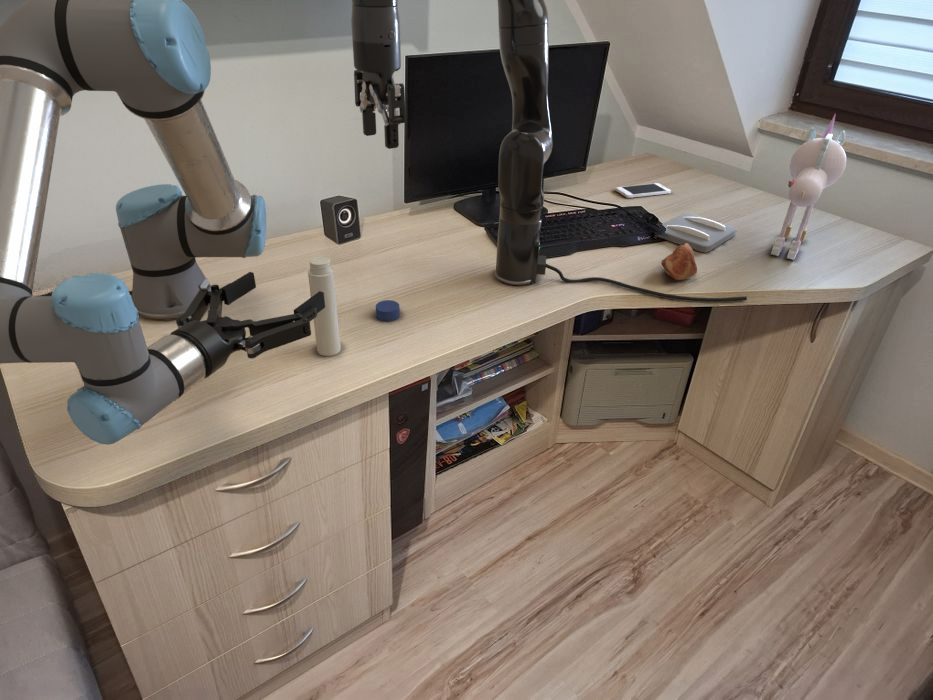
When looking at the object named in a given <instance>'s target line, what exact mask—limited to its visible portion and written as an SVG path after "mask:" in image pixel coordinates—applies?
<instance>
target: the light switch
mask: <svg viewBox="0 0 933 700" xmlns="http://www.w3.org/2000/svg"><path fill="white" fill-rule="evenodd" d="M661 224H662V225H663V226H664V227H665V228H666V231H665V234H667V235H668V237H665V236H662V235H658V236H657V235H654V236H655V237H657V238H659V239H663V240H665V241H669V242H671V243H674V244H677V245H679V246H680V245H684V244H685V243H688V244H689V245H690V246H691V248H692V250H694V251H697V252H699V253H709V252H711V251H712V250H714V249H716V248H717V247H719V246H720V245H722V244H724V243H725V242H727V241H730V239H732V238H734V237H736V234H737V228H736V227H734V226H732V225H729V224H725V223H722V222H719V221H716V220H713V219H710V218H707V217H703V216H700V215H697V214H694V213H690V212H683V213H682V214H679V215H677V216H675V217H673V218H671V219H669V220H668V221H666V222H663V223H661Z"/></svg>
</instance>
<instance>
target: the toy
mask: <svg viewBox="0 0 933 700" xmlns="http://www.w3.org/2000/svg"><path fill="white" fill-rule="evenodd" d="M836 116H837V115H836V112H835V113H834V115H833V116H832V119H831V120H830V122H829V124H828V126H827V128H826V130H825V131H824V133H823V134H822V136H821V137H817V138H816V136H817V128H815V127H810V129H809V130H808V133H807V135H806V136H805V142H804V143H802V144H801V145H800V146H798V148H797V149H796V150H795V151H794V152H793V154H792V156H791V159H790V162H789V173H790V175H791V178H792V180H789V181H788V188H789V189H788V198H789V201H790V202H789V205H788V209H787V212H786V215H785V218H784V221H783V223H782V227H781V230H780V233H779V235H777V236H776V239H775V241H774V243H773V246H772V249H771V253H770V255H772V256H776V257H779V255H780V253H781V252H782V249H783V248H784V246H785V242H786V240H789V238H790V234H791V232H792V227H793V225H792V223H793V219H794V217H795V213H796V211H797V208H798V207H801V208H802V207H804V208H805V210H804V213H803V216H802V219H801V222H800V225H799V227H798V230H797V233H796V237H795V239H793V240H792V242H791V245H790V247H789V250H788V253H787V256H786V259H788V260H792V261H794V260H795V259H796V257H797V255H798V253H799V251H800V249H801V245H802V244H803V243H804V240H805V238H806V235H807V231H808V228H807V227H808V224H809V221H810V218H811V215H812V212H813V209H814V207H815V204H816V202H817V201H818V200H819V199H820V197H821V195H822V193H823V191H824V189H827V188H828V187H831V186H832V185H834V184H835V183H836V182H837V181H838V180H840V178H841V177H842V176H843V174H844V173H845V170H846V168H847V167H846V166H847V154H846V152H845V150H844V148H843V145H844V143H845V141H846V140H847V134H846V131H845V130H840V131H839V132H838V133H837V135H836V137H835V139H833V129H834V125H835V120H836ZM841 135H842V138H841V141H840V137H841Z"/></svg>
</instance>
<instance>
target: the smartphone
mask: <svg viewBox="0 0 933 700" xmlns="http://www.w3.org/2000/svg"><path fill="white" fill-rule="evenodd" d="M615 192H617V193H619V194H620V195H622V196H624V197H625V198H628V199H630V198H639V197H640V198H641V197H649V196H656V195H657V196H659V195H665V194H671V192H672V190H671V189H670V188H668V187H666V186H664V185H663V184H661V183H658V182H654V183H645V184H644V183H643V184H636V185H634V184H633V185H626V186H617V187H615Z"/></svg>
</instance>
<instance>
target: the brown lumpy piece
mask: <svg viewBox="0 0 933 700" xmlns="http://www.w3.org/2000/svg"><path fill="white" fill-rule="evenodd" d="M693 250H694V249H692V248H691V246H690V245H689V244H688V243H685V244H684V245H680V244H679V245H678V246H677V247H675V249H674V250H673V251H672V253H671V254H669V255H668V256H666V257H665V258H664V259H662V260H661V262H660V265H661V266H662V268H663V270H664V272H665V273H666V274H667V275H668V276H670V277H671V278H672V279H674V280H676V281H684V280H688V279H689V278H692V277H693V276H694V275H696V274H698V267H697V264H696V260H695V254H694V251H693Z"/></svg>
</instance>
